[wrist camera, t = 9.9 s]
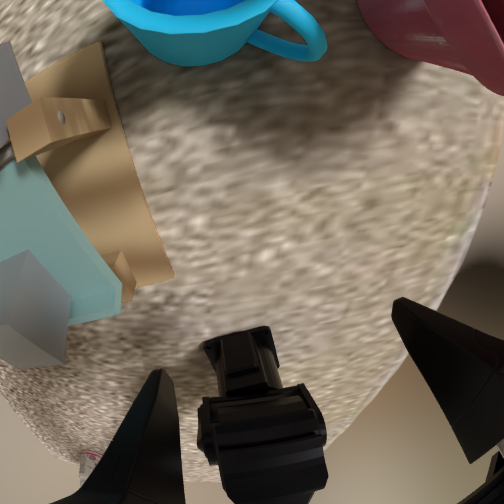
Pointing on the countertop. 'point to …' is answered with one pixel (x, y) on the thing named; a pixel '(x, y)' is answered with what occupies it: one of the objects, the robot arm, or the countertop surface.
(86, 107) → the frame
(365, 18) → the plant pot
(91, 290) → the trapdoor
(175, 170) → the countertop surface
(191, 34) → the mug
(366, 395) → the countertop surface
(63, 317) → the gray cube
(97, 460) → the pill bottle
